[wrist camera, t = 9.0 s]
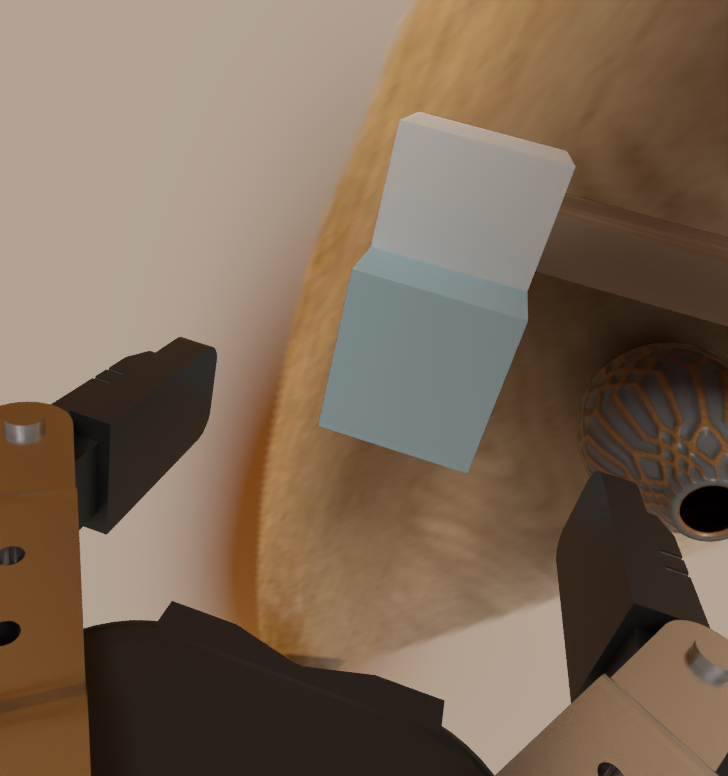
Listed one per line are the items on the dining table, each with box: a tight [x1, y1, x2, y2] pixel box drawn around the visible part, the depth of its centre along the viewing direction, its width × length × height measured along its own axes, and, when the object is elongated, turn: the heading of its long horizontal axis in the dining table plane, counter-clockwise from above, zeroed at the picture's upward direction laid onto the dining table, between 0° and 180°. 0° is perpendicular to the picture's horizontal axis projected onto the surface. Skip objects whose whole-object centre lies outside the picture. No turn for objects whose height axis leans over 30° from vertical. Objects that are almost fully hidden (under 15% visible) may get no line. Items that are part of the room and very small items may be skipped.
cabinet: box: [318, 112, 575, 474], centre depth 19 cm, size 9×5×8 cm, turn 165°
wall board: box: [536, 193, 728, 327], centre depth 20 cm, size 2×17×8 cm, turn 75°
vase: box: [577, 343, 728, 542], centre depth 22 cm, size 7×7×9 cm
